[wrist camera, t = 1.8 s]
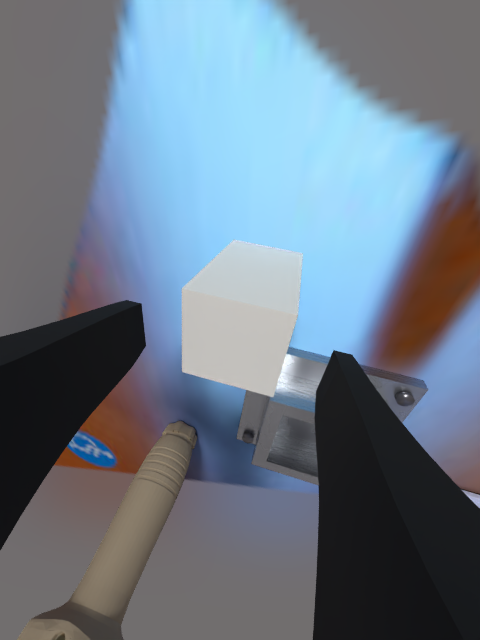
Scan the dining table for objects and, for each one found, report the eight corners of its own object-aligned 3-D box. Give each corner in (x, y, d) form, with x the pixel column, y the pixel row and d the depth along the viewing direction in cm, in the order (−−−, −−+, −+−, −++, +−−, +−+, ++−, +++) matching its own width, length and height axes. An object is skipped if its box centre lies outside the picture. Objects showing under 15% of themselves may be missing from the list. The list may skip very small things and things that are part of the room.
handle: (215, 449, 26) (129, 707, 14) (161, 438, 28) (38, 661, 15) (210, 419, 24) (97, 699, 11) (150, 409, 25) (-8, 645, 13)
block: (302, 253, 14) (297, 315, 8) (286, 313, 16) (273, 397, 10) (233, 239, 14) (181, 288, 9) (227, 300, 16) (182, 372, 11)
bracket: (423, 380, 16) (448, 427, 13) (358, 467, 22) (365, 512, 19) (257, 339, 17) (246, 373, 15) (238, 431, 23) (228, 468, 21)
